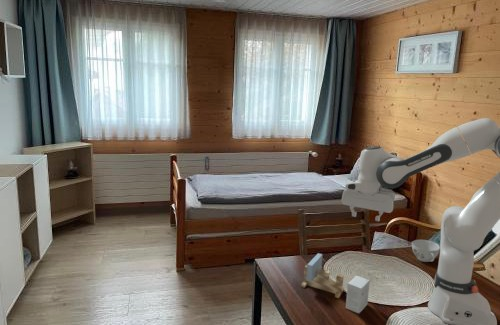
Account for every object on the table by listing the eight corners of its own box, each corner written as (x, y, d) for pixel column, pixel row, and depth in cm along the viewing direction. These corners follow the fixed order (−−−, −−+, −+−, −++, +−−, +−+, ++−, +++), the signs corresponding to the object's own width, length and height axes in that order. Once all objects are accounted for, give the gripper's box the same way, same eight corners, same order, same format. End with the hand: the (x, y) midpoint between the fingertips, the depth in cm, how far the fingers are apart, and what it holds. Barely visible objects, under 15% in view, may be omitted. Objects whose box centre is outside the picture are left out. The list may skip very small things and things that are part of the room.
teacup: (406, 253, 189) (407, 238, 188) (431, 254, 189) (433, 239, 187) (418, 267, 175) (420, 252, 173) (445, 268, 174) (447, 252, 173)
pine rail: (343, 290, 154) (345, 272, 152) (338, 298, 148) (340, 280, 147) (307, 279, 162) (308, 262, 160) (301, 286, 156) (302, 269, 154)
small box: (354, 299, 148) (356, 274, 146) (367, 304, 145) (370, 279, 142) (345, 308, 142) (347, 283, 140) (359, 314, 138) (361, 288, 136)
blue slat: (316, 268, 162) (317, 253, 160) (321, 269, 161) (322, 254, 159) (306, 280, 151) (307, 264, 150) (311, 281, 150) (312, 265, 149)
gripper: (397, 188, 149) (393, 221, 152) (346, 180, 159) (343, 211, 162) (394, 192, 143) (390, 226, 146) (341, 184, 153) (339, 216, 156)
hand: (365, 218), depth 154 cm, fingers open, 8 cm apart
